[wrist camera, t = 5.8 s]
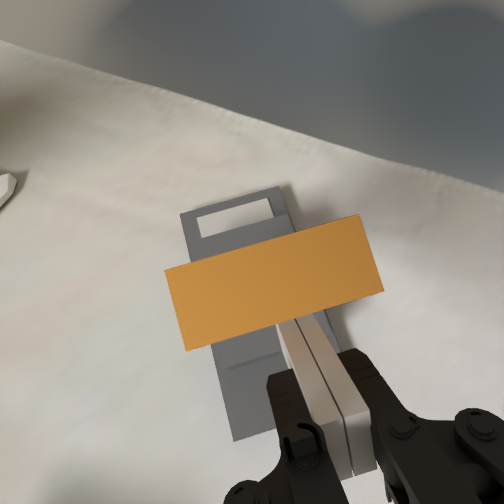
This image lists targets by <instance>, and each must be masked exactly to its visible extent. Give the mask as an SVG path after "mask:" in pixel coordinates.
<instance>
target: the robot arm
mask: <svg viewBox="0 0 504 504" xmlns="http://www.w3.org/2000/svg"><path fill="white" fill-rule="evenodd" d="M275 325H276V329H277V333H278V336H279V340H280V344H281V348H282V352H283V355H284V357H285V360H286V363H287V366H288V368H289V369H287V370H284V371H281V372H278V373H274V374H271V375H268V380H267V384H266V389H267V393H268V397H269V400H270V404H271V408H272V412H273V416H274V420H275V424H276V428H277V432H278V436H279V443H280V449H281V457H280V460H279V462H278V464H277V466H276V467H275V469H274V470H273V471H272V472H271V473H270V474H269V475H267V476H266V477H265V478H263V479H262V480H261V481H259V482H257V481H252V480H245V481H242V482H239V483H237V484H236V485H235V486H233V487H232V488H231V489H230V491H229V492H228V494H227V495H226V496H225V500H224V503H223V504H349V502H348V500H347V497H346V495H345V492H344V490H343V487H342V485H341V482H340V481H342V480H345V479H348V478H351V477H353V474H352V470H353V473H354V475H355V476H357V475H360V474H363V473H366V472H369V471H373V470H376V469H377V463H376V460H377V462H378V464H379V466H380V468H381V470H382V472H383V474H384V482H385V490H386V496H387V499H388V503H389V502H392V499H393V501H394V503H395V504H504V421H503V420H502V419H501V418H499V417H498V416H496V415H494V414H492V413H490V412H489V411H485V410H482V409H478V408H467V409H464V410H462V411H459V413H458V414H457V415H456V416H455V421H448V420H427V419H423V418H420V417H417V416H416V415H415V414H413V413H411V412H409V411H408V410H406V408H405V407H404V406H403V405H402V404H401V402H400V401H399V400H398V398H397V397H396V395H395V394H394V393H393V391H392V390H391V388H390V387H389V386H388V384H387V383H386V381H385V380H384V379H383V377H382V376H381V375H380V373H379V372H378V370H377V369H376V367H374V365H373V363H372V362H371V361H370V359H369V358H368V356H367V355H366V354H364V353H363V352H361V351H359V350H358V349H356V348H354V349H350V350H347V351H344V352H341V353H337V354H336V353H335V351H334V349H333V347H332V346H331V344H330V342H329V341H328V339H327V337H326V336H325V334H324V332H323V331H322V329H321V327H320V325H319V324H318V322H317V320H316V319H315V317H314V315H313V314H312V313H311V314H308V315H304V316H301V317H298V318H295V319H291V320H288V321H285V322H282V323H278V324H275ZM351 468H352V469H351ZM391 497H392V499H391Z"/></svg>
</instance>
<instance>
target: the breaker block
mask: <svg viewBox="0 0 504 504" xmlns="http://www.w3.org/2000/svg"><path fill="white" fill-rule="evenodd" d="M180 218H181V222H182V226H183V231H184V235H185V239H186V243H187V247H188V252H189V256H190V260H191V262H195V261H198V260H202V259H205V258H209V257H212V256H215V255H219V254H222V253H226V252H229V251H233V250H236V249H240V248H243V247H246V246H250V245H253V244H257V243H260V242H264V241H267V240H271V239H274V238H277V237H281V236H284V235H288V234H291V233H295V232H296V231H295V228H294V226H293V223H292V220H291V218H290V215H289V212H288V210H287V207H286V204H285V202H284V199H283V196H282V194H281V191H280V188H279V186H278V187H274V188H271V189H267V190H264V191H260V192H256V193H253V194H249V195H246V196H242V197H239V198H235V199H232V200H228V201H224V202H221V203H217V204H214V205H210V206H207V207H203V208H199V209H196V210H192V211H189V212H185V213H182V214H180ZM312 314H313V315H314V317H315V319H316V320H317V322H318V324H319V325H320V327H321V329H322V331H323V332H324V334H325V336H326V337H327V339H328V341H329V342H330V344H331V346H332V347H333V349H334V351H335V353H336V354H337V353H341V351H340V348H339V345H338V343H337V340H336V337H335V335H334V332H333V329H332V327H331V324H330V321H329V319H328V316H327V313H326V311H325V309H324V310H321V311H318V312H314V313H312ZM211 348H212V352H213V357H214V361H215V365H216V369H217V373H218V378H219V382H220V386H221V390H222V394H223V399H224V403H225V407H226V411H227V415H228V420H229V424H230V428H231V432H232V436H233V441H234V442H235V441H238V440H241V439H244V438H247V437H250V436H253V435H256V434H260V433H263V432H266V431H269V430H272V429H275V428H276V424H275V420H274V416H273V412H272V408H271V404H270V400H269V397H268V393H267V389H266V384H267V380H268V375H271V374H274V373H278V372H281V371H284V370H287V369H289V368H288V366H287V363H286V360H285V357H284V355H283V352H282V348H281V344H280V340H279V336H278V333H277V329H276V325H272V326H268V327H265V328H262V329H259V330H255V331H252V332H249V333H245V334H242V335H239V336H236V337H232V338H229V339H226V340H223V341H219V342H216V343H213V344H211Z"/></svg>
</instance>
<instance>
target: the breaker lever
mask: <svg viewBox="0 0 504 504" xmlns="http://www.w3.org/2000/svg"><path fill="white" fill-rule="evenodd" d="M164 271H165V275H166V278H167V282H168V286H169V289H170V293H171V297H172V301H173V304H174V308H175V312H176V316H177V319H178V323H179V327H180V330H181V334H182V338H183V342H184V345H185V349H186V352H187V351H190V350H193V349H196V348H200V347H203V346H206V345H209V344H213V343H216V342H219V341H223V340H226V339H229V338H232V337H236V336H239V335H242V334H245V333H249V332H252V331H255V330H259V329H262V328H265V327H268V326H272V325H275V324H278V323H282V322H285V321H288V320H291V319H295V318H298V317H301V316H304V315H308V314H311V313H314V312H318V311H321V310H324V309H327V308H331V307H334V306H337V305H341V304H344V303H347V302H350V301H354V300H357V299H360V298H363V297H367V296H370V295H373V294H377V293H380V292H383V291H384V288H383V285H382V282H381V279H380V276H379V273H378V270H377V267H376V264H375V261H374V258H373V255H372V252H371V249H370V246H369V243H368V240H367V237H366V234H365V231H364V228H363V225H362V222H361V219H360V216H359V214H357V215H353V216H350V217H346V218H343V219H340V220H336V221H333V222H329V223H326V224H322V225H319V226H315V227H312V228H309V229H305V230H302V231H298V232H295V233H291V234H288V235H284V236H281V237H277V238H274V239H271V240H267V241H264V242H260V243H257V244H253V245H250V246H246V247H243V248H240V249H236V250H233V251H229V252H226V253H222V254H219V255H215V256H212V257H209V258H205V259H202V260H198V261H195V262H191V263H188V264H184V265H181V266H177V267H174V268H171V269H167V270H164Z"/></svg>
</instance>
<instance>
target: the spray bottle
mask: <svg viewBox="0 0 504 504" xmlns="http://www.w3.org/2000/svg"><path fill="white" fill-rule="evenodd" d="M16 183H17V180H16V179H15V178H14V177H13V176H11V175H10V174H9V173H7V174H3V175H0V207H1V206H2V205H3V204H4V203H5V201H6V200H7V199H8V198H9V197H10V196H11V195H12V194H13V191H14V188H15V185H16Z"/></svg>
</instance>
